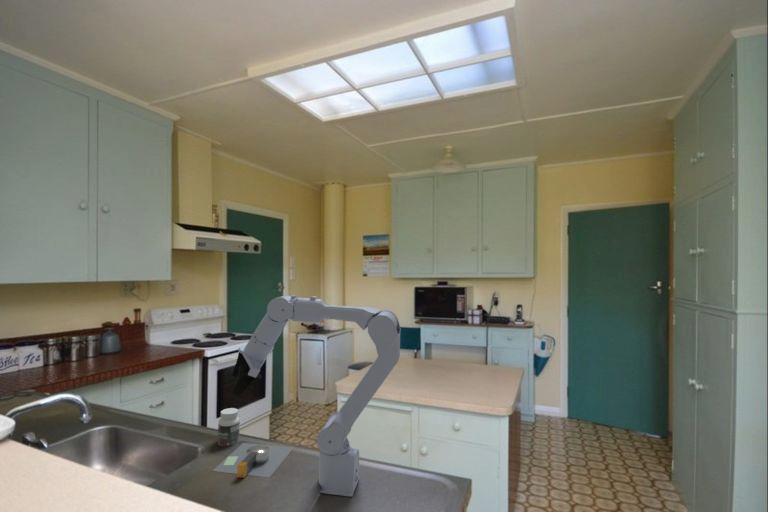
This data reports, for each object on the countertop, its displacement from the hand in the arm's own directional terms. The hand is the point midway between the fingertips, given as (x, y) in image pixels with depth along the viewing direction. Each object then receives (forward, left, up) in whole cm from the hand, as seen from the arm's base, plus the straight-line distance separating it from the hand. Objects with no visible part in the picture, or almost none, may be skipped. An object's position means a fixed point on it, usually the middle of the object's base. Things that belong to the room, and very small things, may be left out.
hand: (235, 384), depth 97 cm
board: (-2, -6, -22) cm, 23 cm away
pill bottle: (+10, -14, -23) cm, 28 cm away
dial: (-3, -3, -21) cm, 22 cm away
